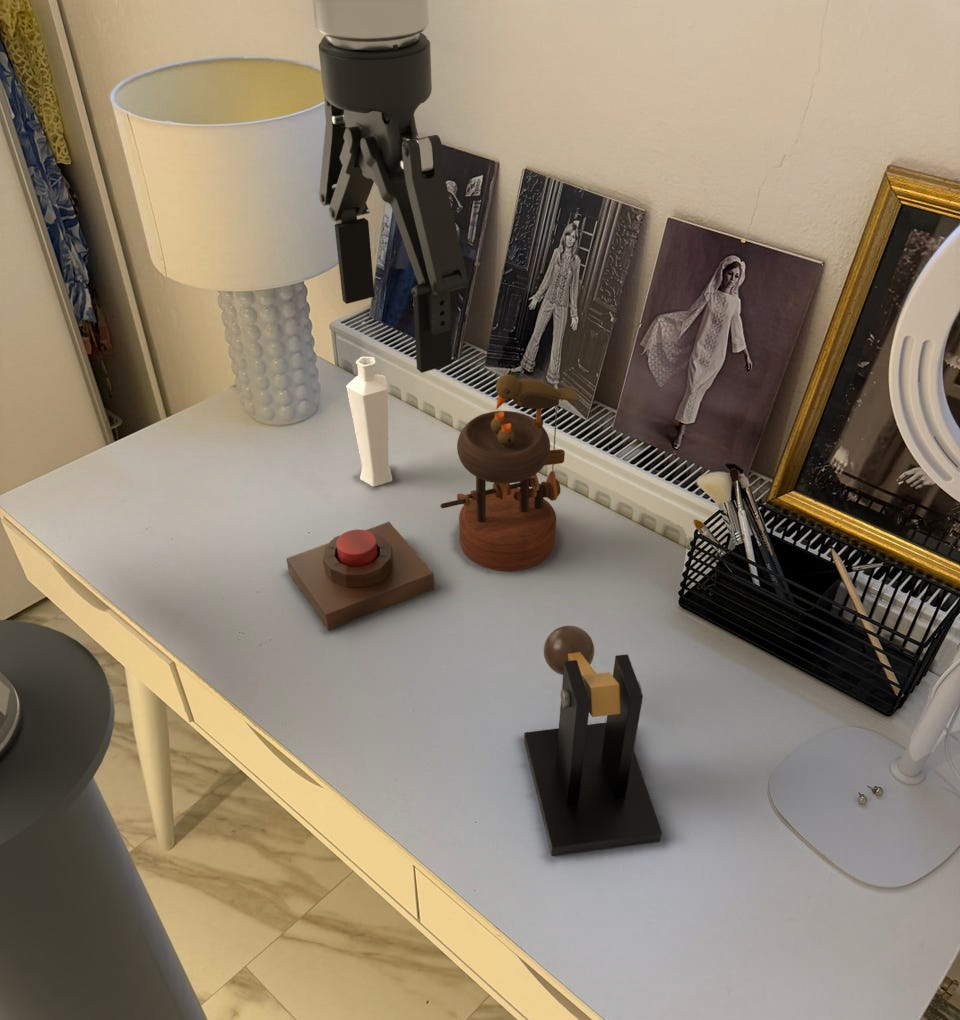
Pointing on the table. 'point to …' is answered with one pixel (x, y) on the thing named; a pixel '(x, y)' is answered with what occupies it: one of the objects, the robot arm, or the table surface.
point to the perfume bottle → (370, 421)
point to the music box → (510, 479)
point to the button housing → (360, 578)
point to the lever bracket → (592, 770)
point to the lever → (583, 668)
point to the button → (356, 548)
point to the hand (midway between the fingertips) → (394, 331)
